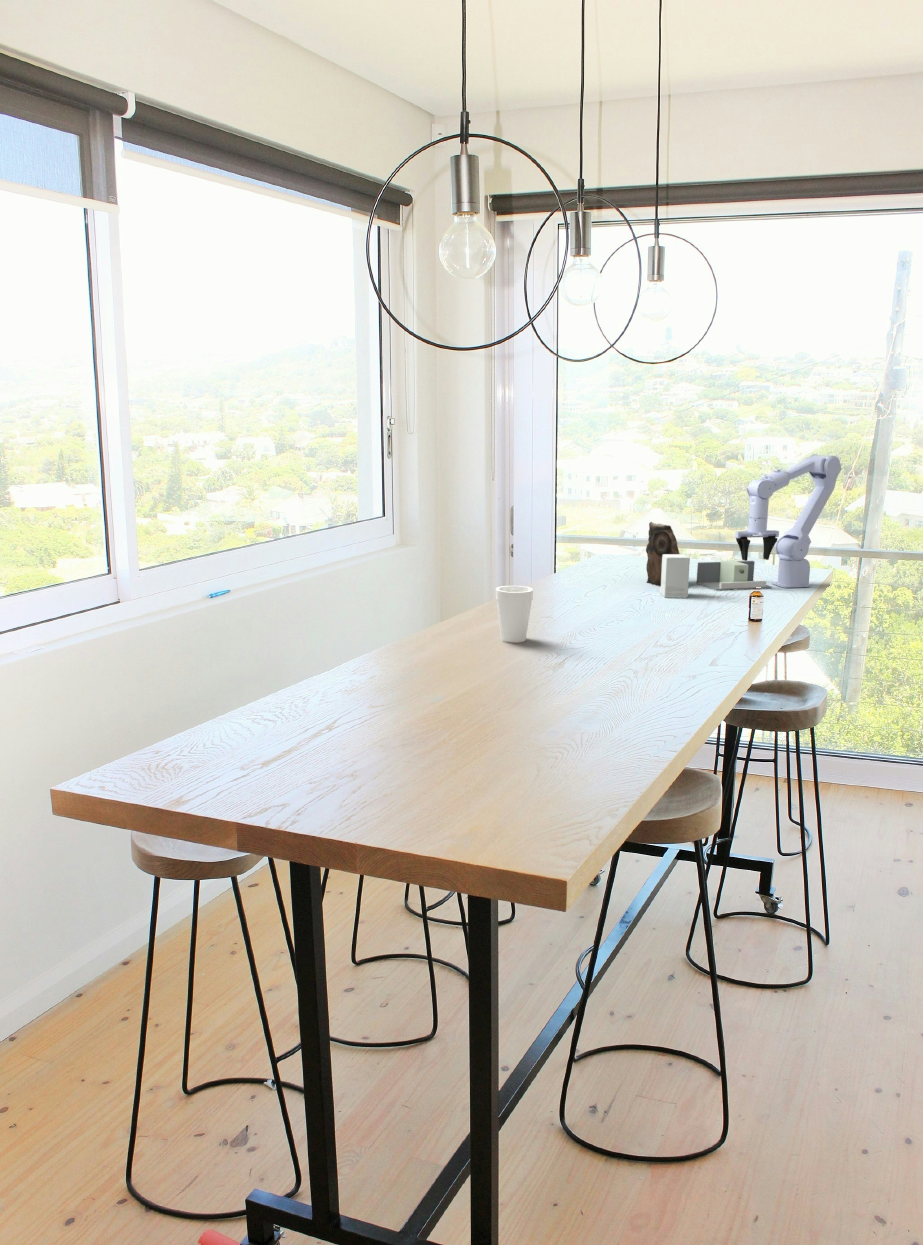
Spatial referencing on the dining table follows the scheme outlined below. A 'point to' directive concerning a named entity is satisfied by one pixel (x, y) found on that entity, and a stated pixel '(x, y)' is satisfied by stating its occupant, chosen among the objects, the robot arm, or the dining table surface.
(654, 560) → the owl
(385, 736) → the dining table surface
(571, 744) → the dining table surface
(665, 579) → the supplement box
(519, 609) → the foam cup
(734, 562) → the cabinet block
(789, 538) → the robot arm
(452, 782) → the dining table surface
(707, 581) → the grey piece
